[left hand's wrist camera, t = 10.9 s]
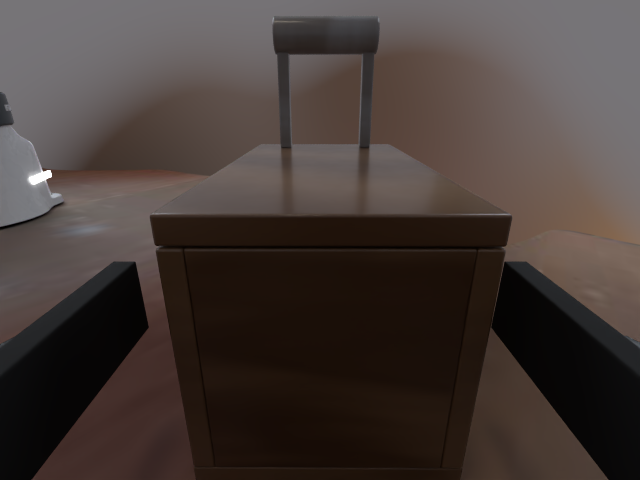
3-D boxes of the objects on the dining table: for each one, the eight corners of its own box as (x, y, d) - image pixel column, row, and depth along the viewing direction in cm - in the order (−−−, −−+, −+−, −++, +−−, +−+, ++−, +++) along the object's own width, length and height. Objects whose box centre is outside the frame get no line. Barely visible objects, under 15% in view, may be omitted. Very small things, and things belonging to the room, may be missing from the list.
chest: (266, 271, 29) (259, 158, 26) (382, 272, 29) (390, 158, 26) (196, 483, 13) (154, 249, 10) (459, 484, 13) (507, 249, 10)
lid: (260, 157, 26) (253, 24, 23) (389, 157, 26) (397, 23, 23) (153, 247, 10) (74, -188, 7) (508, 248, 10) (597, -190, 6)
